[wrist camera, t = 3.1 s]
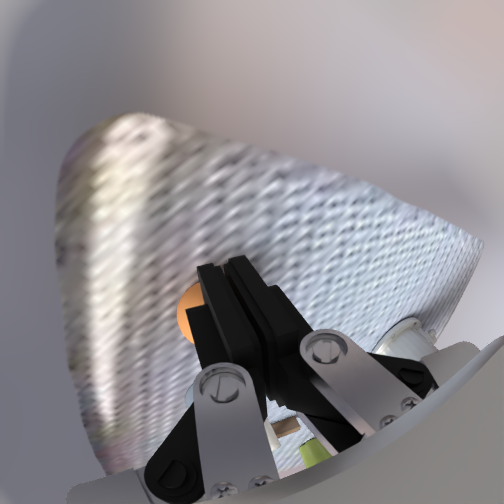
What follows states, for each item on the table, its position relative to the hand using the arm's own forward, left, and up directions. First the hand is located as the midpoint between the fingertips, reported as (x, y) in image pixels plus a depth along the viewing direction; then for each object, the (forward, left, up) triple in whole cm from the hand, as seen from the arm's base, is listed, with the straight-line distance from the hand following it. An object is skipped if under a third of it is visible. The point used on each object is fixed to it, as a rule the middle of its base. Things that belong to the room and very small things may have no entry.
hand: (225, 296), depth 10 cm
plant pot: (-15, +60, -14) cm, 63 cm away
